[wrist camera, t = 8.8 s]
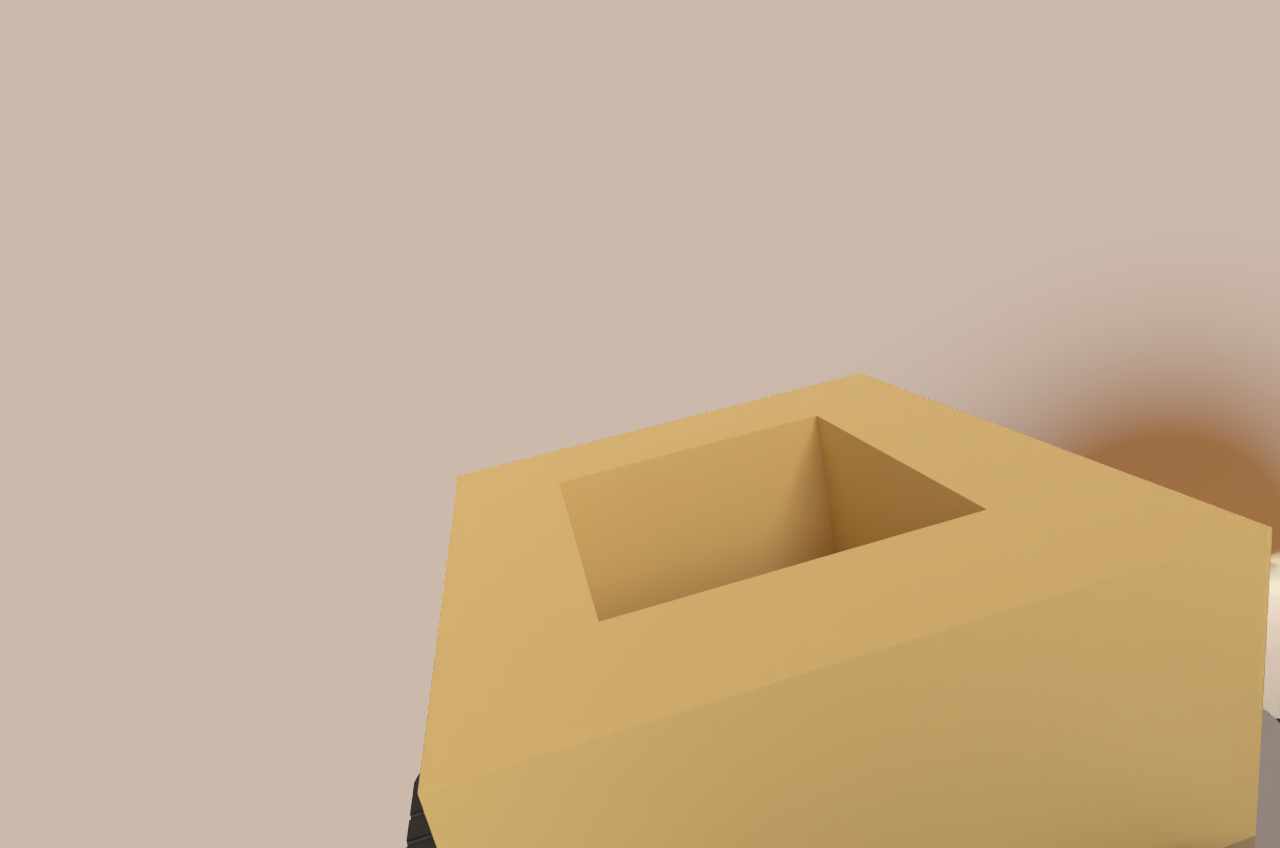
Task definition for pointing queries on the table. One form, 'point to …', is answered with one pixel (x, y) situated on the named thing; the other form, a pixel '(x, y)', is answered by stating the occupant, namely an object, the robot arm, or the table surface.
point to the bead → (842, 641)
